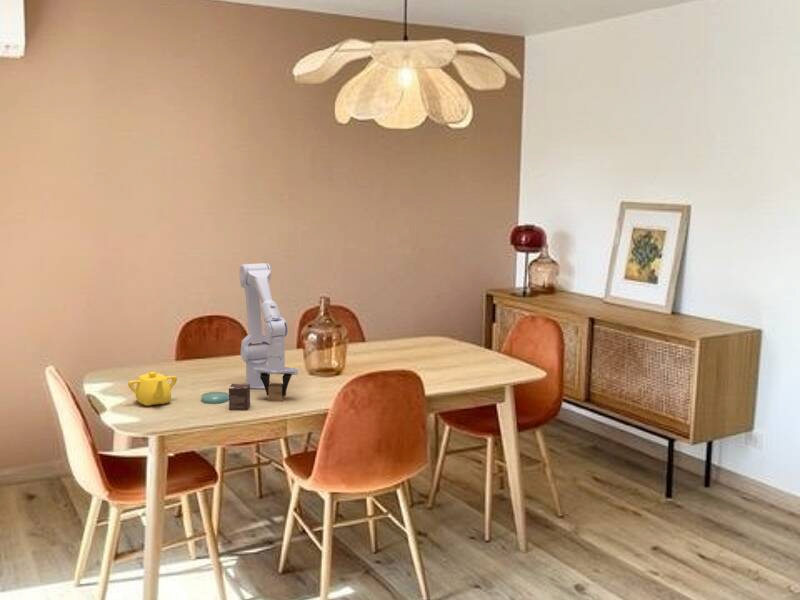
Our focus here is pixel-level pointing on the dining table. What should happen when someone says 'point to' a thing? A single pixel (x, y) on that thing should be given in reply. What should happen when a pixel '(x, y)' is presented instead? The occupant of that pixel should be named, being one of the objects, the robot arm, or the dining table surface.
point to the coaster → (215, 397)
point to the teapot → (152, 388)
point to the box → (239, 396)
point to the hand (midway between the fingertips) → (276, 395)
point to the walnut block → (275, 392)
